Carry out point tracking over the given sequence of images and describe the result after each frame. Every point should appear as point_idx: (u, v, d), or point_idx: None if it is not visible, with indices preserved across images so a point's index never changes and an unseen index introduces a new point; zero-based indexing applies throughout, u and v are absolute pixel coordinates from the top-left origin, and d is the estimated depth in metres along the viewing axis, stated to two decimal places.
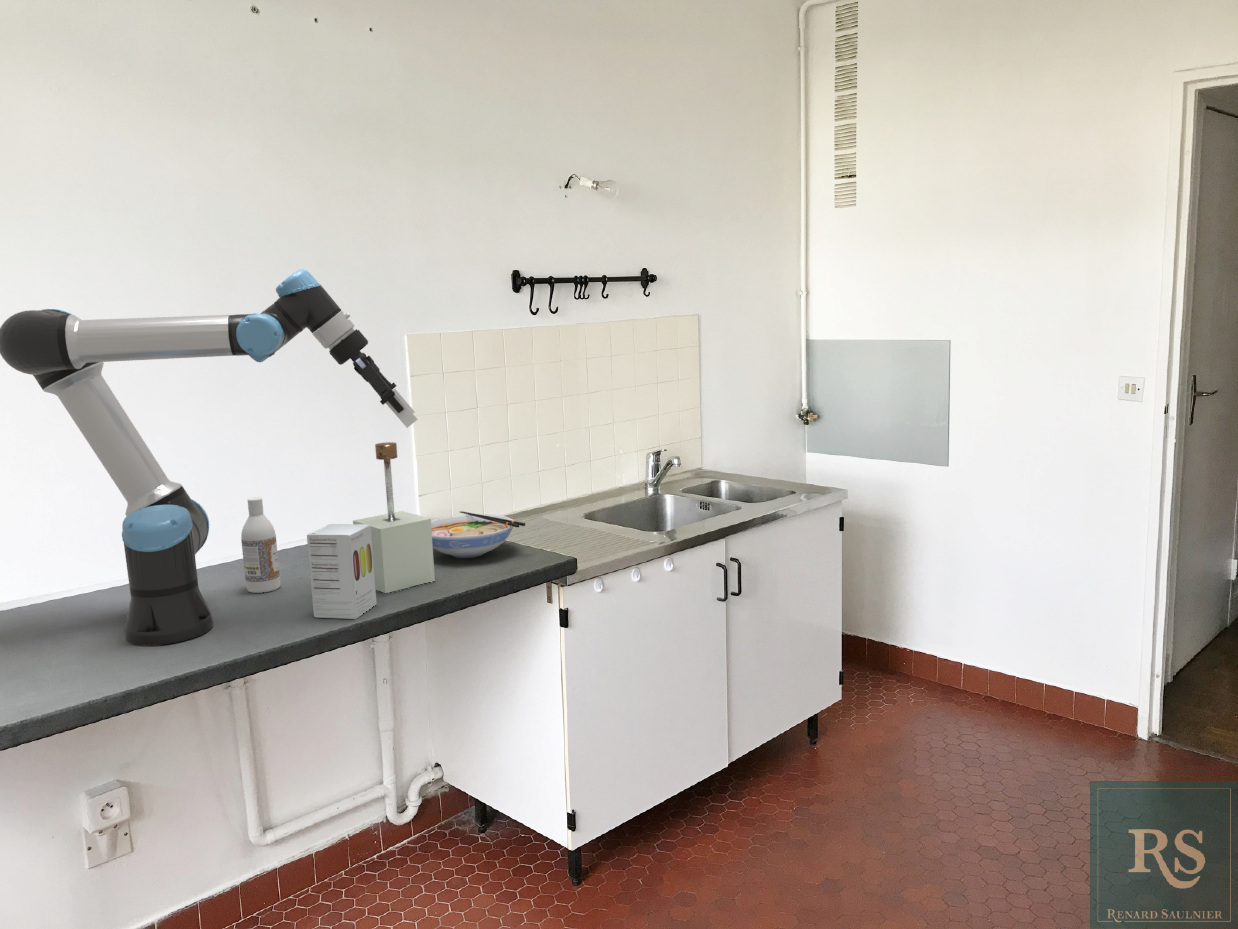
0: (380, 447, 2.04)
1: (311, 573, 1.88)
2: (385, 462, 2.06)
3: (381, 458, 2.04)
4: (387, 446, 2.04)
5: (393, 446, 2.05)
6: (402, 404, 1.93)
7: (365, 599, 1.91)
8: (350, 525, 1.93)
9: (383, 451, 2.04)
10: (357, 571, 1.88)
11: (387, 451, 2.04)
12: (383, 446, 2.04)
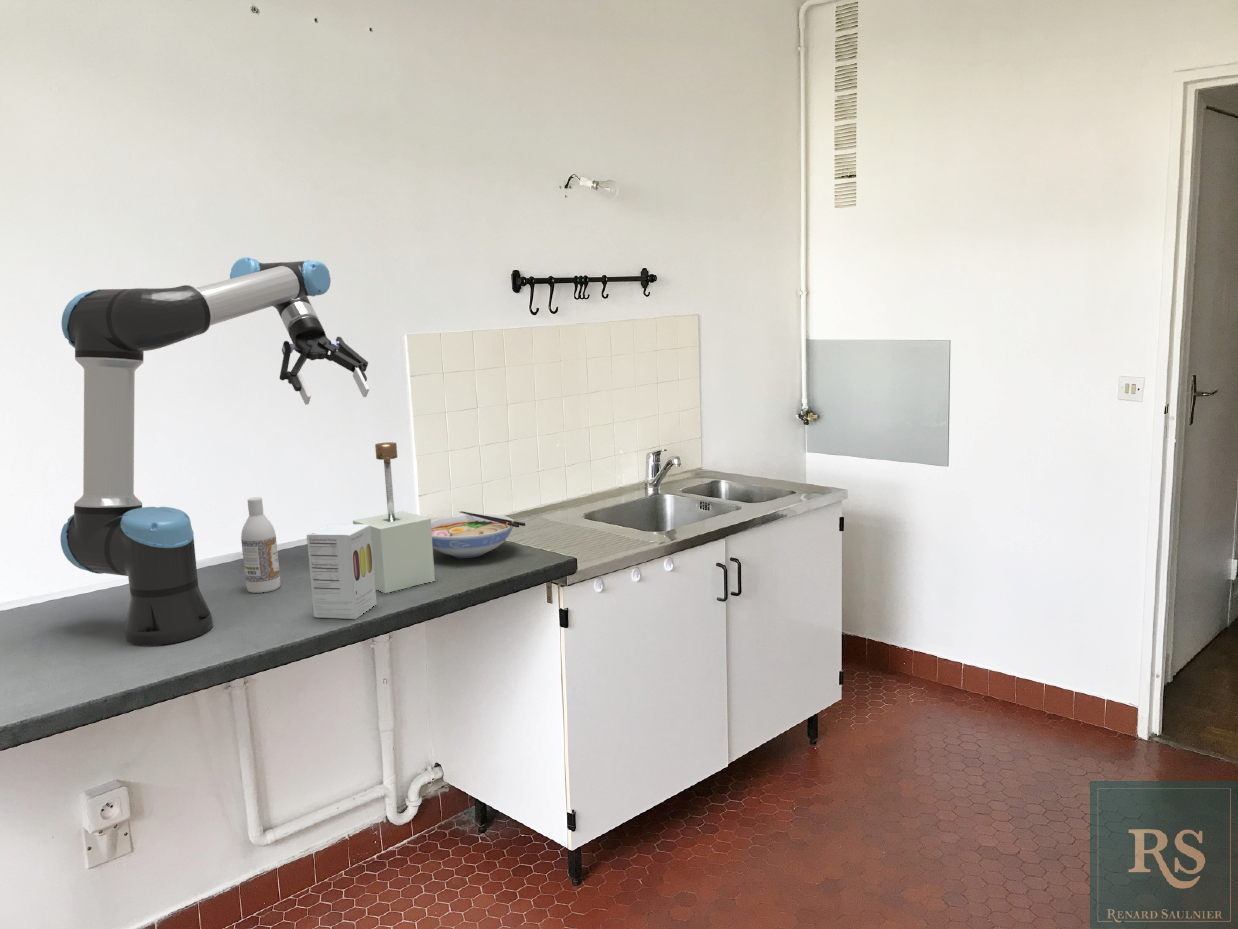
0: (380, 447, 2.04)
1: (311, 573, 1.88)
2: (385, 462, 2.06)
3: (381, 458, 2.04)
4: (387, 446, 2.04)
5: (393, 446, 2.05)
6: None
7: (365, 599, 1.91)
8: (350, 525, 1.93)
9: (383, 451, 2.04)
10: (357, 571, 1.88)
11: (387, 451, 2.04)
12: (383, 446, 2.04)
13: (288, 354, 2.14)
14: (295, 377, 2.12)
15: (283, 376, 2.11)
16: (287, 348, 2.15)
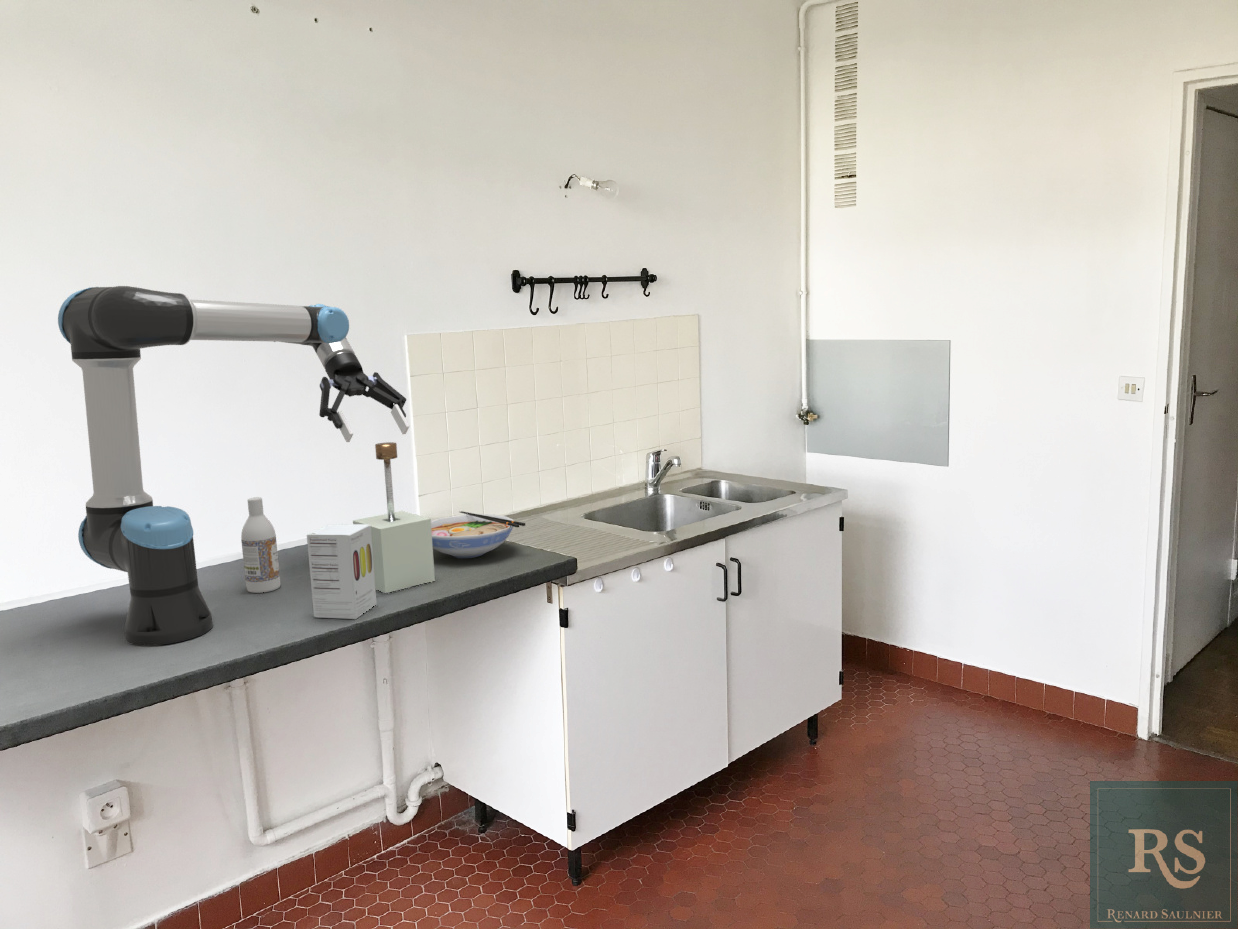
0: (380, 447, 2.04)
1: (311, 573, 1.88)
2: (385, 462, 2.06)
3: (381, 458, 2.04)
4: (387, 446, 2.04)
5: (393, 446, 2.05)
6: None
7: (365, 599, 1.91)
8: (350, 525, 1.93)
9: (383, 451, 2.04)
10: (357, 571, 1.88)
11: (387, 451, 2.04)
12: (383, 446, 2.04)
13: (327, 390, 2.09)
14: (336, 414, 2.07)
15: (324, 413, 2.06)
16: (326, 384, 2.10)
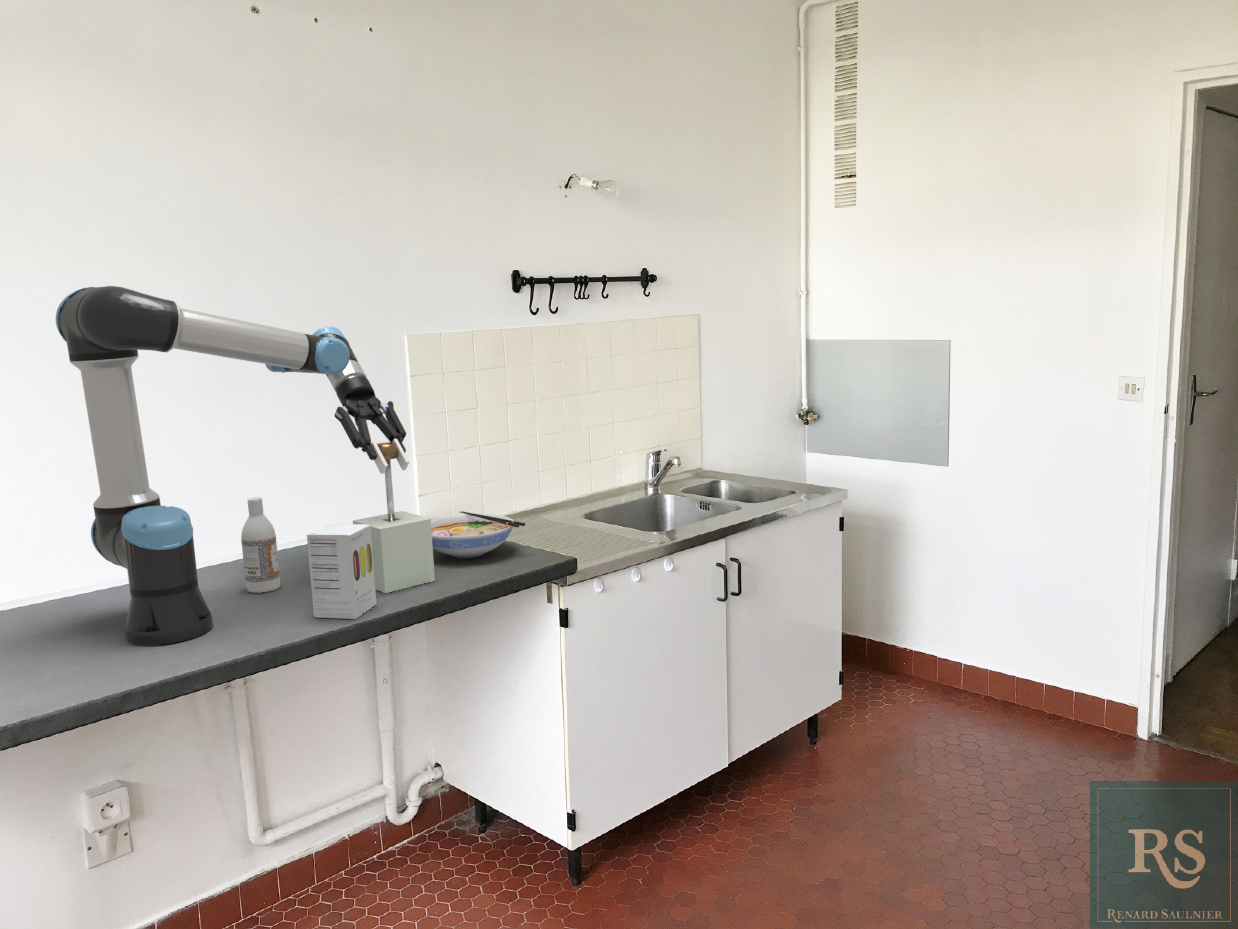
0: (380, 447, 2.04)
1: (311, 573, 1.88)
2: None
3: None
4: (387, 446, 2.04)
5: (393, 446, 2.05)
6: None
7: (365, 599, 1.91)
8: (350, 525, 1.93)
9: (383, 451, 2.04)
10: (357, 571, 1.88)
11: (387, 451, 2.04)
12: (383, 446, 2.04)
13: (350, 420, 2.05)
14: (370, 445, 2.04)
15: (359, 444, 2.04)
16: (345, 414, 2.06)
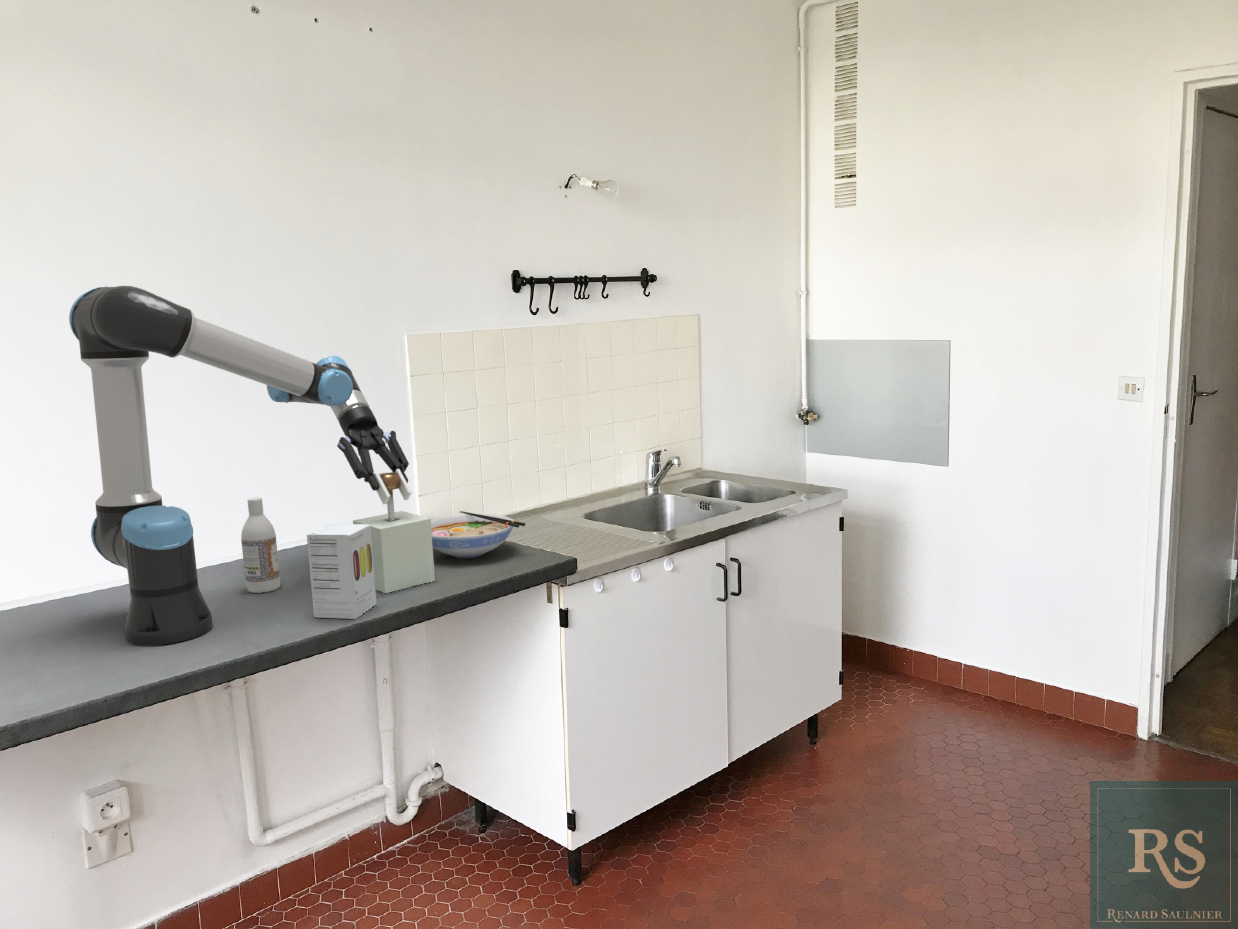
0: (382, 478, 2.05)
1: (311, 573, 1.88)
2: None
3: None
4: (389, 477, 2.05)
5: (395, 477, 2.06)
6: None
7: (365, 599, 1.91)
8: (350, 525, 1.93)
9: (385, 482, 2.05)
10: (357, 571, 1.88)
11: (389, 482, 2.05)
12: (385, 477, 2.05)
13: (353, 450, 2.06)
14: (373, 476, 2.05)
15: (362, 475, 2.05)
16: (347, 444, 2.07)
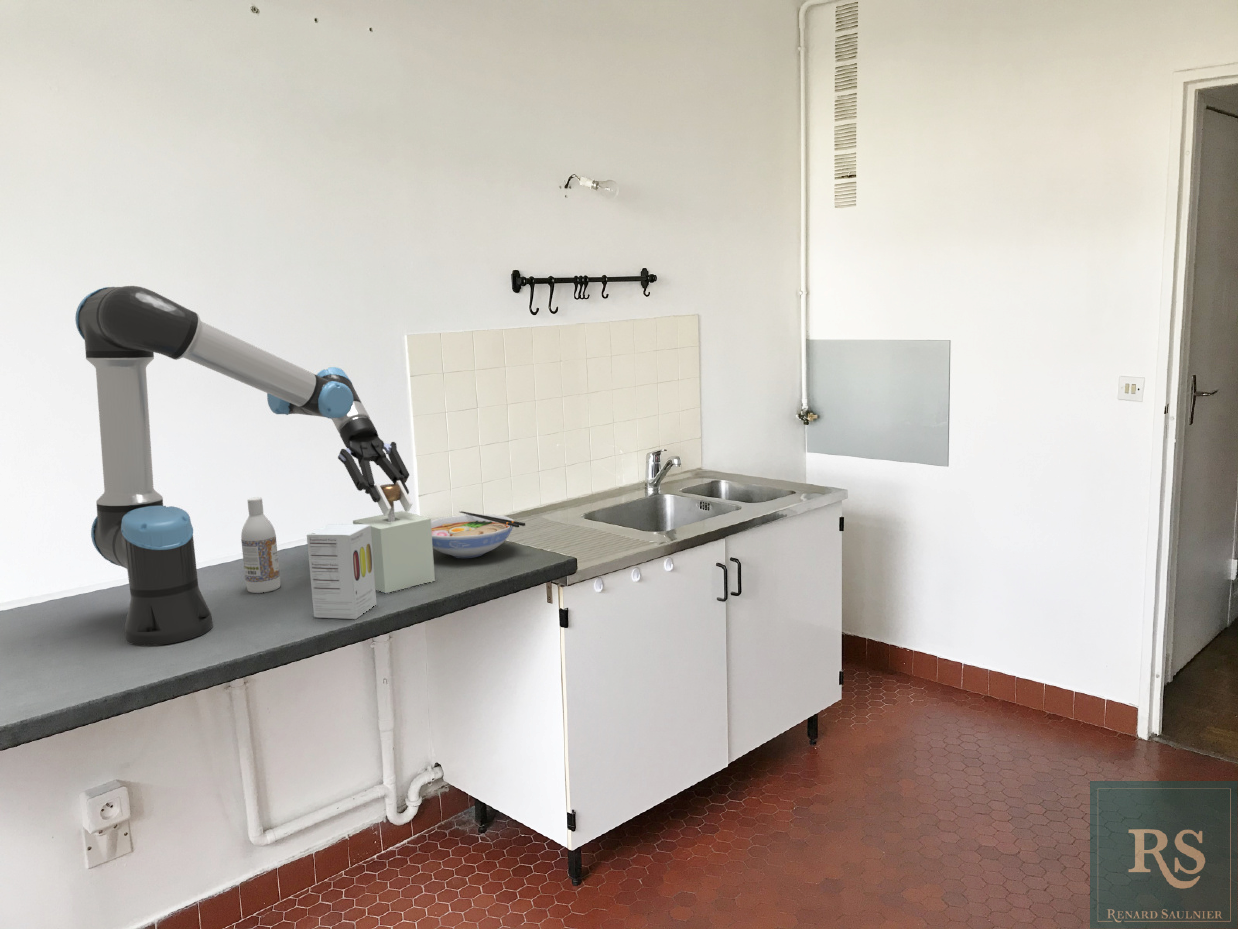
0: (383, 489, 2.05)
1: (311, 573, 1.88)
2: None
3: None
4: (390, 488, 2.05)
5: (396, 488, 2.06)
6: None
7: (365, 599, 1.91)
8: (350, 525, 1.93)
9: (386, 494, 2.05)
10: (357, 571, 1.88)
11: (390, 494, 2.06)
12: (386, 488, 2.05)
13: (353, 462, 2.07)
14: (373, 487, 2.06)
15: (362, 486, 2.05)
16: (348, 456, 2.07)
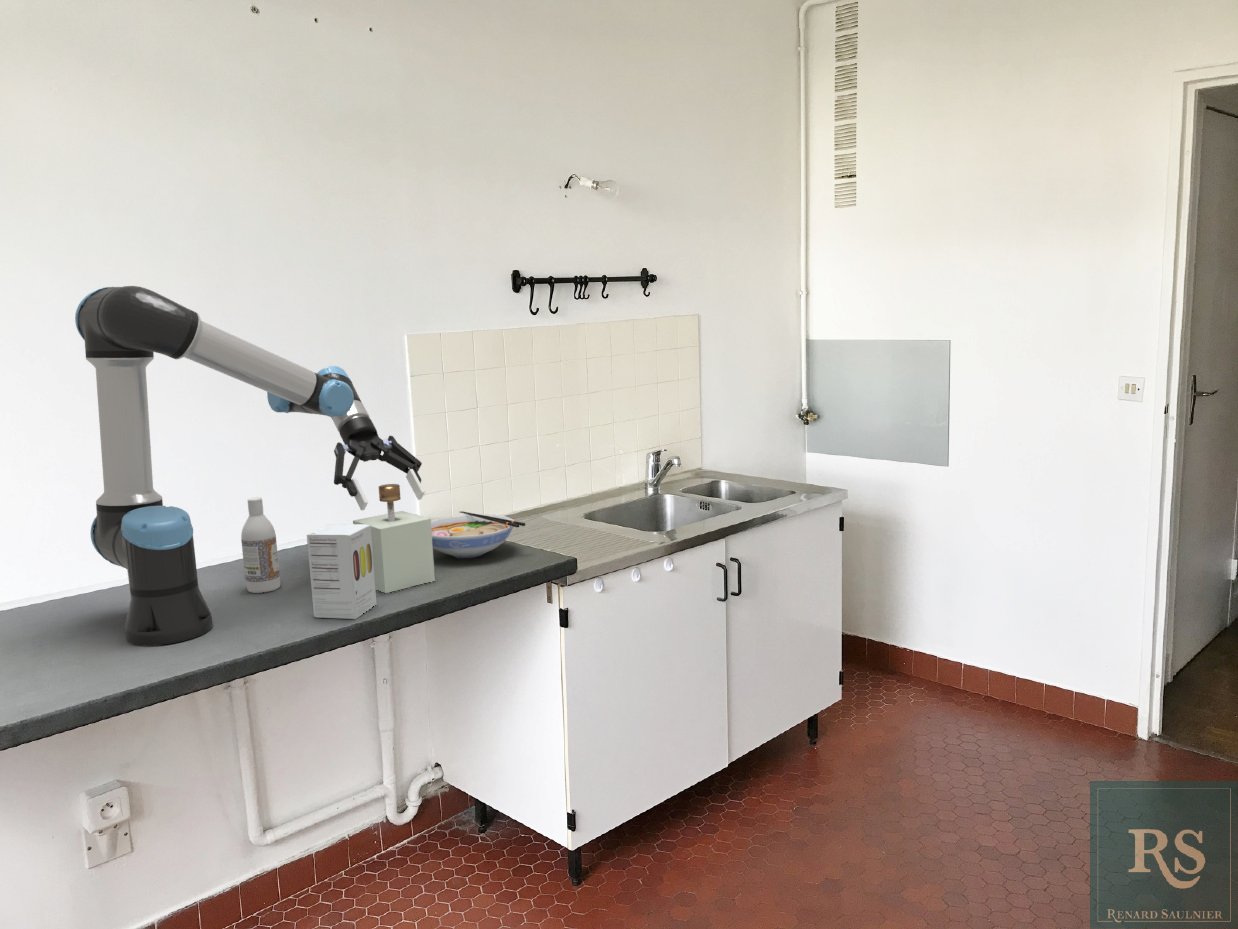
0: (383, 489, 2.05)
1: (311, 573, 1.88)
2: (388, 504, 2.07)
3: (385, 500, 2.06)
4: (390, 488, 2.05)
5: (396, 488, 2.06)
6: None
7: (365, 599, 1.91)
8: (350, 525, 1.93)
9: (386, 494, 2.05)
10: (357, 571, 1.88)
11: (390, 494, 2.06)
12: (386, 488, 2.05)
13: (342, 457, 2.06)
14: (350, 482, 2.04)
15: (338, 481, 2.03)
16: (341, 450, 2.07)
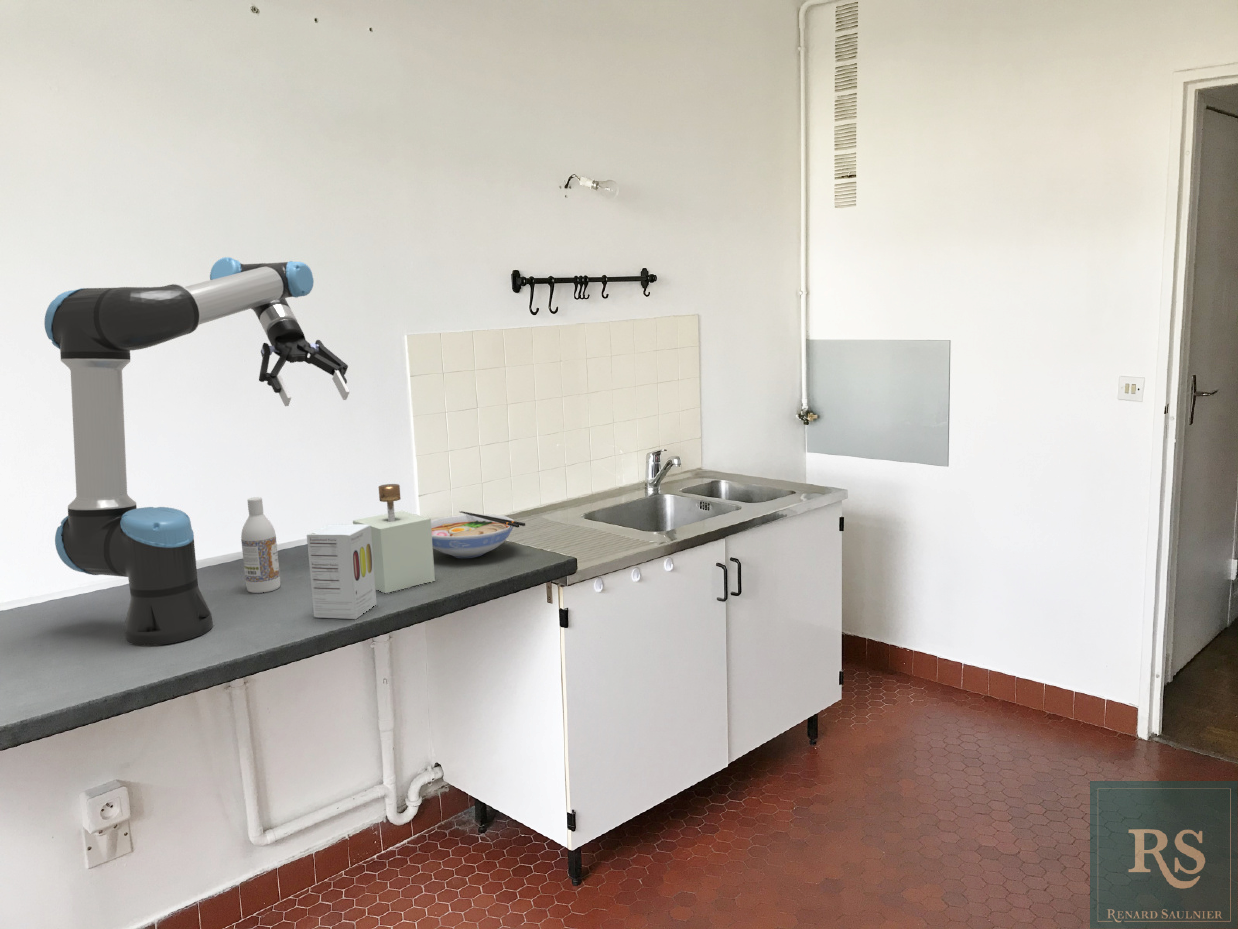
0: (383, 489, 2.05)
1: (311, 573, 1.88)
2: (388, 504, 2.07)
3: (385, 500, 2.06)
4: (390, 488, 2.05)
5: (396, 488, 2.06)
6: None
7: (365, 599, 1.91)
8: (350, 525, 1.93)
9: (386, 494, 2.05)
10: (357, 571, 1.88)
11: (390, 494, 2.06)
12: (386, 488, 2.05)
13: (267, 356, 2.13)
14: (275, 379, 2.10)
15: (263, 377, 2.10)
16: (266, 350, 2.14)
